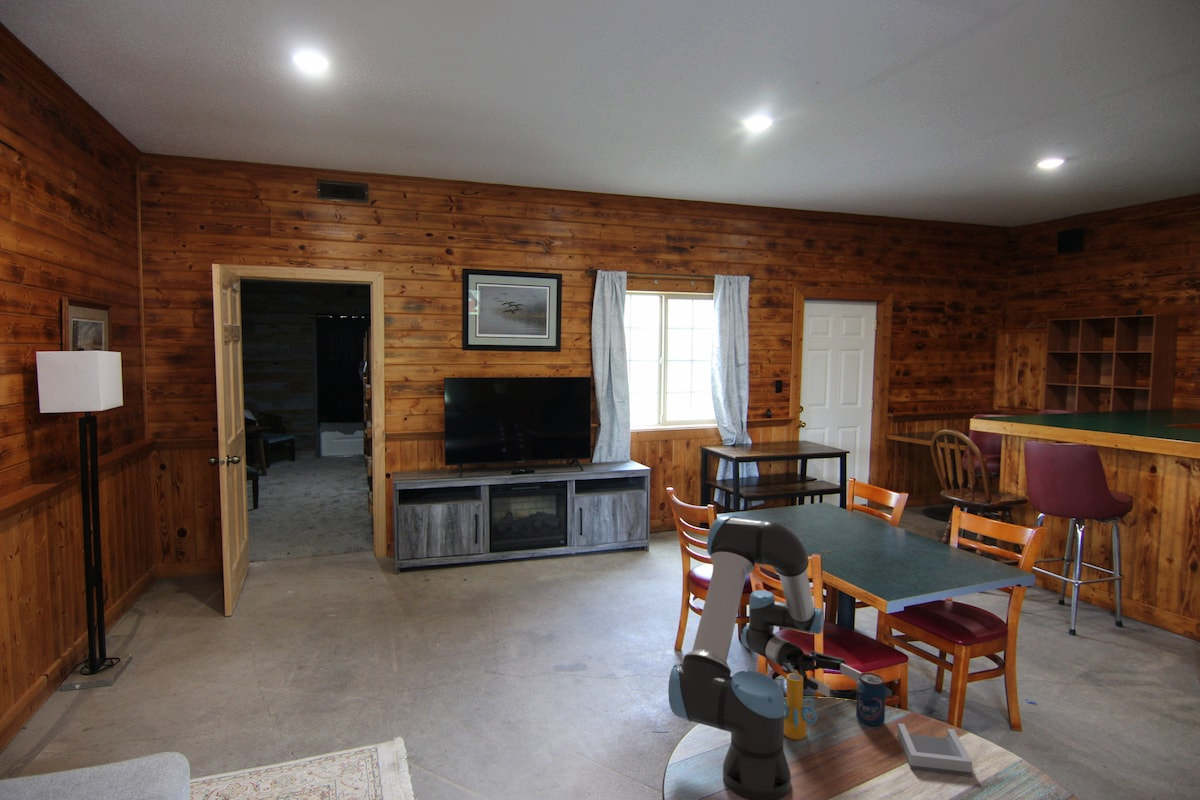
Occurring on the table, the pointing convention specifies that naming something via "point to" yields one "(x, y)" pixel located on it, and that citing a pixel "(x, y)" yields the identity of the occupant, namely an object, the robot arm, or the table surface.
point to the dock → (935, 752)
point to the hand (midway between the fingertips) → (845, 684)
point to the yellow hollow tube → (796, 708)
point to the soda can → (870, 700)
